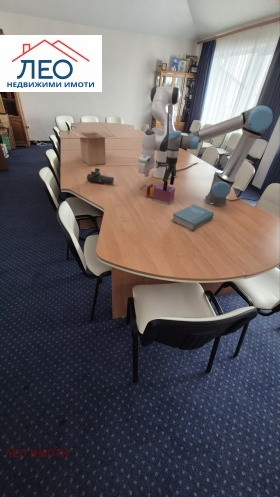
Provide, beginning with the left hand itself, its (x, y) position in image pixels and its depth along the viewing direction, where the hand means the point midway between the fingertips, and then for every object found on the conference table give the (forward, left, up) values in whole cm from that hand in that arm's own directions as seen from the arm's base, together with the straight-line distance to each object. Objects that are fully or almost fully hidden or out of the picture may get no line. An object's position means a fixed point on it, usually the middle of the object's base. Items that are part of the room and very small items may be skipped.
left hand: (146, 176), depth 163 cm
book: (-11, +47, -14) cm, 50 cm away
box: (+11, -99, -14) cm, 100 cm away
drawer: (-4, +5, -14) cm, 15 cm away
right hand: (-11, +14, -4) cm, 19 cm away
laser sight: (+24, -35, -14) cm, 45 cm away
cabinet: (-9, +13, -14) cm, 21 cm away
